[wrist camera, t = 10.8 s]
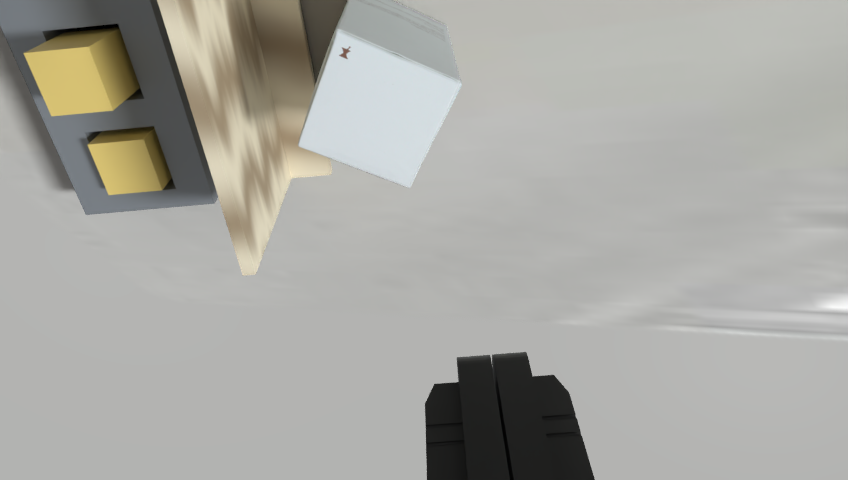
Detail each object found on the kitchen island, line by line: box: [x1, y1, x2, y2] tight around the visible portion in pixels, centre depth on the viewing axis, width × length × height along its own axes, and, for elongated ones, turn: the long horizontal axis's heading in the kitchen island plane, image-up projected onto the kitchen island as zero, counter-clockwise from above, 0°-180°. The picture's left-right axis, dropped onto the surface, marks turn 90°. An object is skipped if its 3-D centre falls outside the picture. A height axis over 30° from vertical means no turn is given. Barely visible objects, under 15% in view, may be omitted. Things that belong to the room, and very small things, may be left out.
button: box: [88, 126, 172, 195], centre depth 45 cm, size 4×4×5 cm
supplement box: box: [298, 0, 462, 188], centre depth 38 cm, size 7×7×13 cm
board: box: [0, 0, 218, 215], centre depth 42 cm, size 22×10×4 cm, turn 5°
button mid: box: [24, 27, 140, 116], centre depth 39 cm, size 4×4×5 cm
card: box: [157, 0, 332, 276], centre depth 37 cm, size 22×4×14 cm, turn 5°
